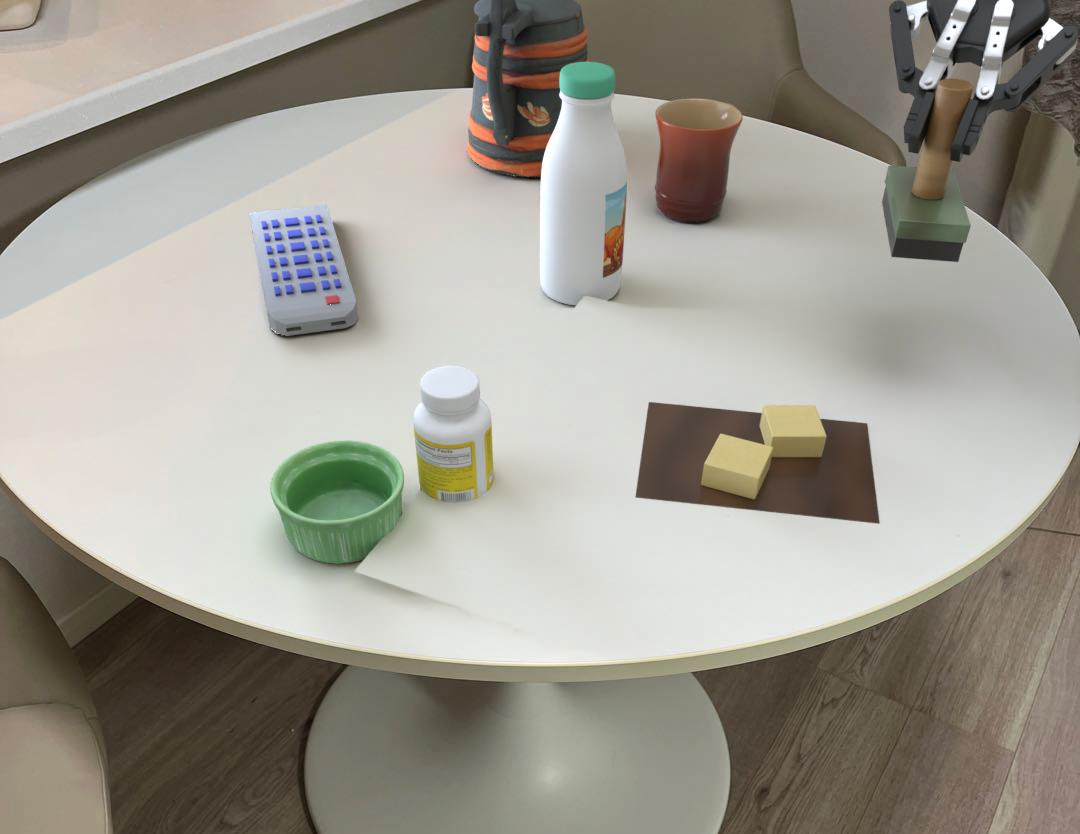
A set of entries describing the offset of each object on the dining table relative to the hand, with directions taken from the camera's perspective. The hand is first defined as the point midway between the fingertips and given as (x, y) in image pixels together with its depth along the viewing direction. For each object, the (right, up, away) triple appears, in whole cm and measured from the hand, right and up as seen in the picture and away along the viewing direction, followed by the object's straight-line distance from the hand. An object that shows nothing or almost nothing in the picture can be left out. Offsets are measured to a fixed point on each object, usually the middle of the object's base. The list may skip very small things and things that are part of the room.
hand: (934, 151), depth 75 cm
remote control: (-51, -2, +26) cm, 58 cm away
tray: (-12, -23, +4) cm, 26 cm away
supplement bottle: (-34, -25, +2) cm, 42 cm away
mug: (-11, +8, +39) cm, 41 cm away
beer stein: (-30, +16, +47) cm, 58 cm away
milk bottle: (-24, -4, +25) cm, 35 cm away
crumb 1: (-14, -23, +1) cm, 27 cm away
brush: (+1, -4, +6) cm, 7 cm away
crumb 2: (-9, -20, +4) cm, 23 cm away
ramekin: (-42, -27, -1) cm, 50 cm away
